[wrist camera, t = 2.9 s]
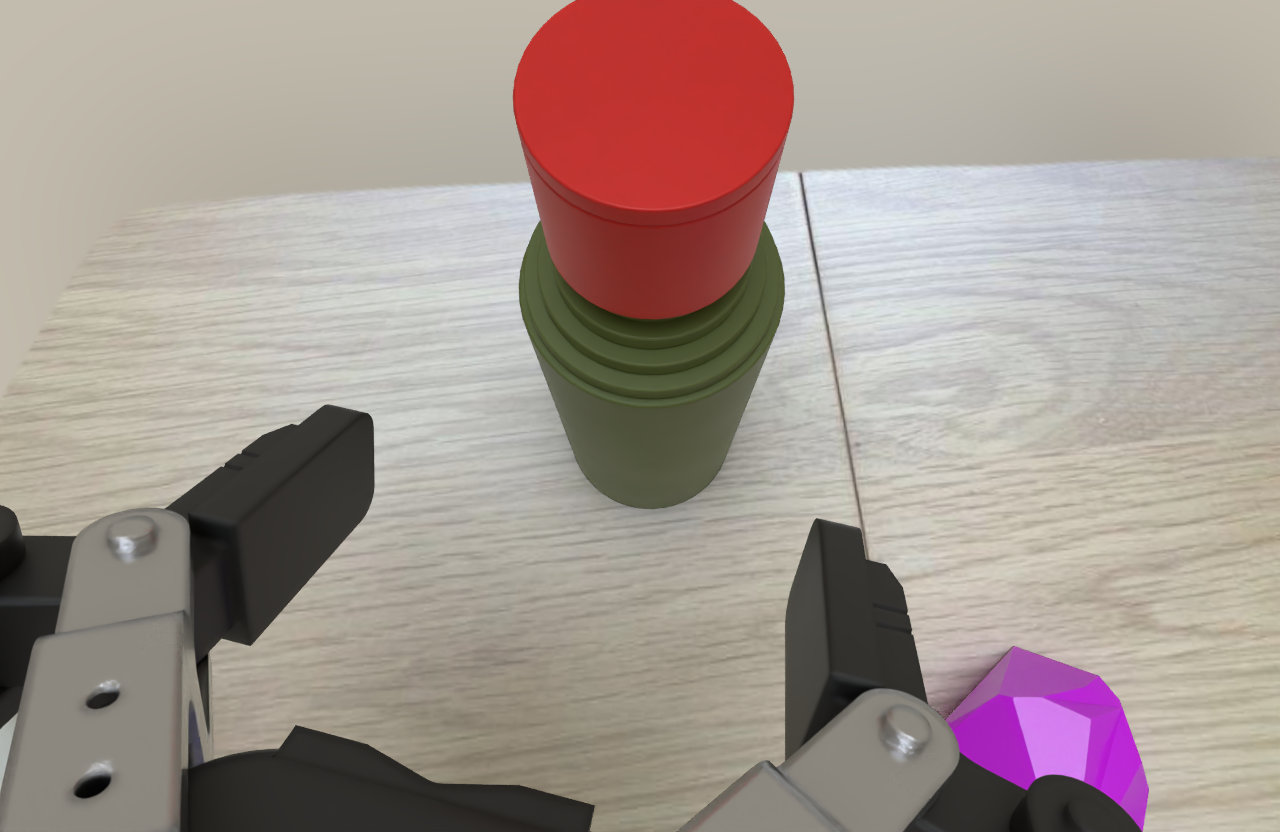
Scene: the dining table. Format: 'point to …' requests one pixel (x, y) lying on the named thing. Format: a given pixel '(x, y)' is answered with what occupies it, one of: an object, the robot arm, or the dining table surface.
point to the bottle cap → (653, 147)
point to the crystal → (1051, 729)
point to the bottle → (651, 376)
